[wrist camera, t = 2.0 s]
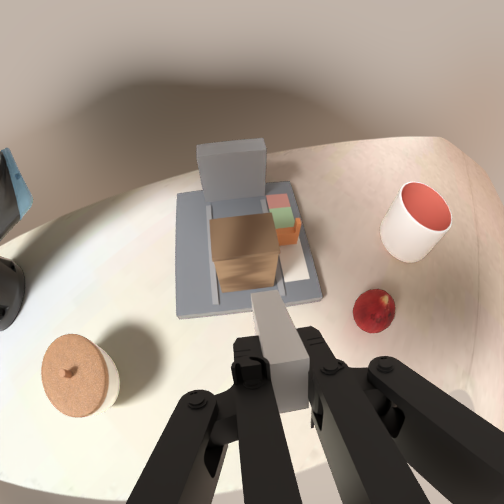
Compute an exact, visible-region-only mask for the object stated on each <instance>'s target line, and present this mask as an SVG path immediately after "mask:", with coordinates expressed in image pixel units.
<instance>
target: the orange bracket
mask: <svg viewBox="0 0 504 504" xmlns="http://www.w3.org/2000/svg"><path fill="white" fill-rule="evenodd" d="M301 224H302V223H301V220H300V218H295V223H294V227H288V228H279V229H276V233H277V238H278V242H279V246H283V245H291V244H297V240H298V236H299V232H300V228H301Z"/></svg>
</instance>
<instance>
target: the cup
mask: <svg viewBox="0 0 504 504" xmlns="http://www.w3.org/2000/svg"><path fill="white" fill-rule="evenodd" d="M451 225H452V214H451V211H450V208H449V206H448V204H447V203H446V201H445V200H444V198H443V197H442V196H441V195H440V194H439V193H438V192H437V191H435V190H434V189H433V188H431V187H430V186H428V185H426V184H423V183H420V182H408V183H405V184H404V185H403V186H402V187H401V189H400V190H399V192H398V194H397V196H396V198H395V200H394V201H393V203H392V205H391V207H390V208H389V210H388V212H387V214H386V215H385V217H384V219H383V221H382V223H381V226H380V237H381V240H382V243H383V245H384V246H385V248H386V249H387V251H388V252H389V253H390V254H391V255H392V256H394V257H395V258H397V259H398V260H400V261H403V262H407V263H414V262H418V261H420V260H421V259H423V258H424V257H425V256H426V255H427V254H428V253H429V251H430V250H431V249H432V248H433V247H434V246H435V245H436V244H437V243H438V241H439V240H440V239H441V238H442V237H443V236H444V235H445V233H446V232H447V231H448V230H449V229H450V227H451Z"/></svg>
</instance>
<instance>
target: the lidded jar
mask: <svg viewBox="0 0 504 504" xmlns="http://www.w3.org/2000/svg"><path fill="white" fill-rule="evenodd" d="M41 375H42V383H43V387H44V390H45V393H46V395H47V397H48V399H49V400H50V402H51V403H52V404H53V405H54V407H55V408H56V409H58V410H59V411H60V412H62V413H63V414H65V415H68V416H71V417H88V416H95V415H99V414H101V413H103V412H105V411H107V410H108V409H109V408H110V407H111V406H112V405H113V404H114V402H115V401H116V399H117V397H118V394H119V390H120V378H119V373H118V370H117V368H116V366H115V363H114V362H113V360H112V359H111V357H110V356H109V355H108V354H107V353H106V352H105V351H104V350H103V349H102V348H100V347H99V346H98V345H96V344H94V343H93V342H91V341H90V340H88V339H87V338H85V337H83V336H80V335H77V334H67V335H63V336H61V337H59V338H57V339H56V340H55V341H54V342H53V343H52V344H51V345H50V346H49V347H48V349H47V351H46V353H45V355H44V358H43V362H42V368H41Z"/></svg>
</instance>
